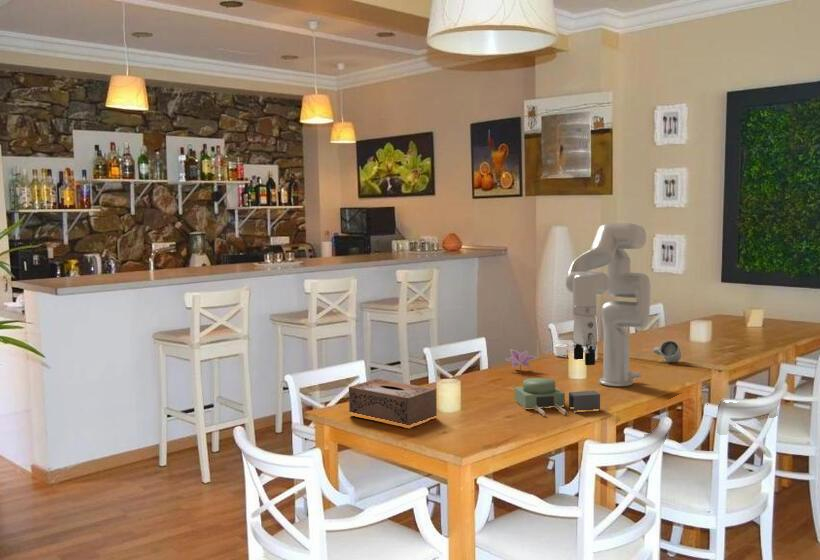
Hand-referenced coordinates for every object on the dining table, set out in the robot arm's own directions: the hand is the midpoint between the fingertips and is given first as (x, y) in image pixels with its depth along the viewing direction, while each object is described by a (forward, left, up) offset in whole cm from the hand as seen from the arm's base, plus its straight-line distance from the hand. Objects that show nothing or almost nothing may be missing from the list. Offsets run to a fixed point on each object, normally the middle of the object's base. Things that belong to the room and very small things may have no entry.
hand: (584, 362), depth 253 cm
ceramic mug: (-63, -62, -17) cm, 90 cm away
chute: (0, 0, -17) cm, 17 cm away
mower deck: (+12, -11, -17) cm, 23 cm away
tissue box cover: (+64, -8, -17) cm, 67 cm away
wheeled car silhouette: (-29, -81, -17) cm, 88 cm away
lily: (+2, -60, -17) cm, 62 cm away
